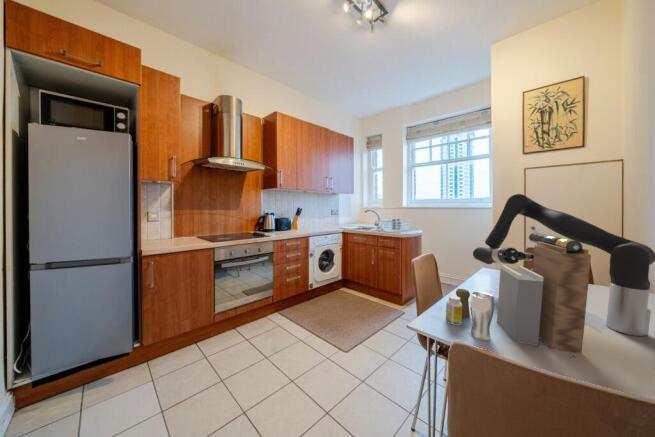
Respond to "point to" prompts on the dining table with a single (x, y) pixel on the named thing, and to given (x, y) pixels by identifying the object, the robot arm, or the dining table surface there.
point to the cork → (464, 301)
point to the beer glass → (481, 314)
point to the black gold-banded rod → (557, 242)
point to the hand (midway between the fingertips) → (532, 255)
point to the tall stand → (562, 295)
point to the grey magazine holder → (520, 304)
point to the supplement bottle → (454, 310)
